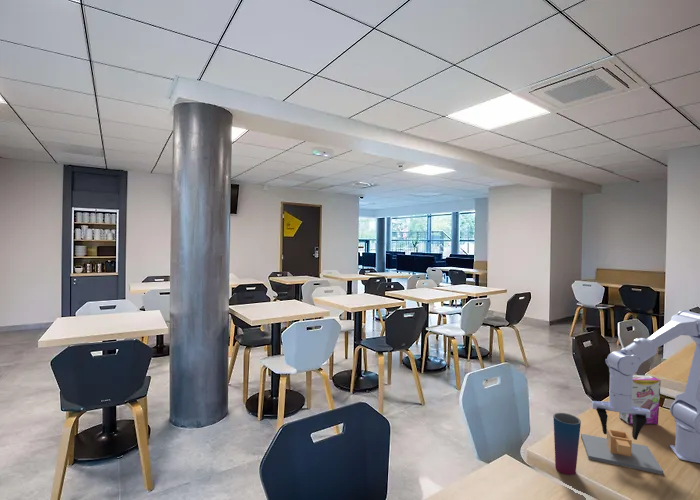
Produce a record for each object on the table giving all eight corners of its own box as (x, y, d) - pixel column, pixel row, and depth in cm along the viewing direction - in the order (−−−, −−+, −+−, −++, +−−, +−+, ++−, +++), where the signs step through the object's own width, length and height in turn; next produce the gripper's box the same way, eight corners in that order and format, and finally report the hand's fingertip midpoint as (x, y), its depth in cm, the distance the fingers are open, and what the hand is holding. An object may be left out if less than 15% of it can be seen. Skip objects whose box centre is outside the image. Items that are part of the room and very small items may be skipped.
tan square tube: (606, 444, 119) (607, 428, 119) (626, 447, 117) (626, 432, 117) (613, 459, 111) (613, 442, 111) (634, 463, 109) (635, 446, 109)
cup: (552, 472, 106) (553, 420, 106) (551, 460, 112) (553, 410, 112) (580, 480, 103) (581, 426, 102) (578, 466, 109) (580, 416, 108)
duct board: (647, 449, 118) (647, 435, 118) (663, 474, 106) (663, 459, 106) (581, 436, 126) (581, 423, 126) (588, 458, 113) (588, 444, 113)
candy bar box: (629, 425, 134) (630, 379, 133) (618, 418, 139) (620, 374, 138) (659, 425, 134) (661, 379, 134) (648, 418, 139) (649, 374, 139)
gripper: (645, 391, 116) (644, 434, 116) (590, 383, 122) (589, 424, 122) (653, 400, 109) (651, 445, 110) (594, 391, 115) (593, 435, 116)
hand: (619, 435), depth 115 cm, fingers open, 7 cm apart
